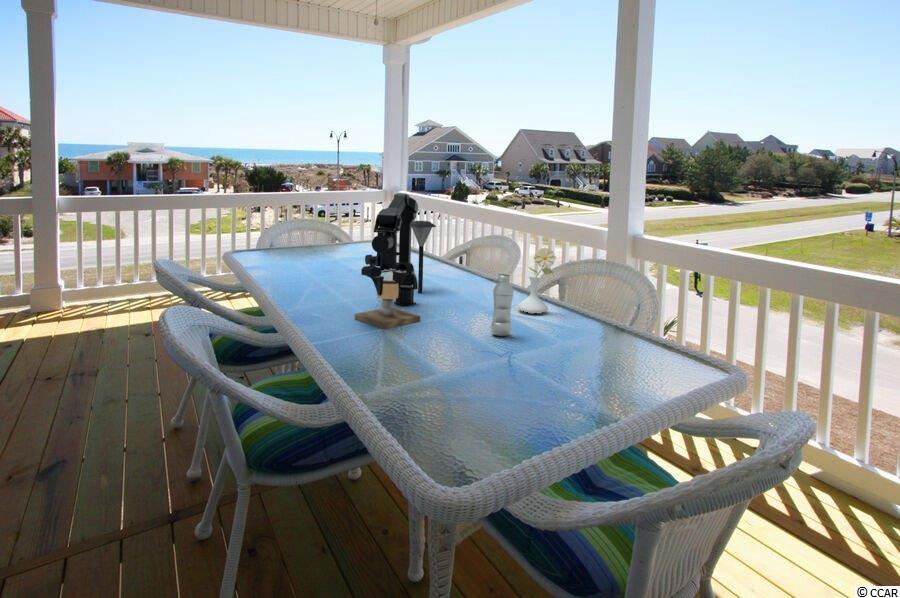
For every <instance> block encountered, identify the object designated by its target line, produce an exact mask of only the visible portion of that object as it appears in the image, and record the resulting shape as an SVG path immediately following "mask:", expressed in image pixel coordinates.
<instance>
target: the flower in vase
mask: <svg viewBox="0 0 900 598" xmlns="http://www.w3.org/2000/svg"><path fill="white" fill-rule="evenodd" d="M532 259H533V260H534V262H535V265H537V266H539V267H541V268H540V270H539V272H538V271H537V270H535V269H533V268H531V267H530V266H528V268H529V270H531V271H532V272H535V273H536V274H531V275H527V276H528V279H529V280H530V287H531V288H530V293H529V296H528V297H526V298H525V299H523V300H522V301H521V302H520V303H519V304H518V305H517V309H518V310H519V311H521V312H523V311H524V312H523V313H526V312H528V313H527V314H534V313H537V314H543V313H542V312H544V313H546V312H548V310H549V307H548V305H547V304H546V303H545V302H544V301H543V300H542V299H540V297H539V296H538V286H539V282H540V280H541V279H542V276H541V275H539V274H540V273H541V272H542V273H543V274H544V275H551V274H553V273H554V272H553V270H552V269H550V267H552V266H554V263H555V261H556V259H557V258H556V255H555V253H554V250H553V249H550V248H549V247H545V246H544V247H540V248H539V249H536V251H535V253H534V256H533V258H532Z"/></svg>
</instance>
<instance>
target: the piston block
mask: <svg viewBox="0 0 900 598" xmlns="http://www.w3.org/2000/svg"><path fill="white" fill-rule="evenodd" d="M381 301H382V303H381V304H382V307H381V308H379V309H373V310H368V311H367V310H366V311H363V312H358V313H354V320H355V321H359V322H362V323H365V324H367V325H371V326H373V327H375V328H379V329H382V330H387V329H392V328H396V327H400V326H406V325H411V324H415V323H419V322H421V315H419V314H415V313H412V312H408V311H405V310H402V309H399V308H396V307H394V299H381Z"/></svg>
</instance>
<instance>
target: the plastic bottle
mask: <svg viewBox="0 0 900 598" xmlns="http://www.w3.org/2000/svg"><path fill="white" fill-rule="evenodd" d="M510 281H511V274H507V273H499V274H498V275H497V284H495V286H494V287H493V290H492V291H493V292H492V295H493V312H492V313H493V315H492V320H491V325H490V332H491V334H492V335H493V336H498V337H506V336H509V335H510V334H511V331H512V321H511V319H512V318H511V317H512V316H511V315H512V314H511V311H512V309H511V308H512V302H513V299H514V298H513V297H514V293H515V291H514V288H513V286H512V284H511V283H510Z"/></svg>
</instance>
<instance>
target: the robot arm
mask: <svg viewBox="0 0 900 598" xmlns="http://www.w3.org/2000/svg"><path fill="white" fill-rule="evenodd" d="M418 212H419V205H418V202H417V200H416V199H414V198H413V197H411V196H410V195H409V194H407V193H398V192H397V193H394V196H393V199H392V200H391V202H390V203H389V205H388V206H387V207H386V208H383V209H381V210H380V211H379V212H378V213H377V214H376V218H375V224H374V228H373V233H377V235H376V236H375V237H373V239H372V240H371V248H372V249H373V251H374V252H375V253H376V255H375V256H373V255H372V254H366V255H365V257H364V263H365V265H364V266H363V267H362V268H361V273H360V274H361V275H362V276H365V277H368V278H370V279H371V281H372V282H373V284H374V287H375V290H376V293H378V295H381V293H382V287H383V281H384V279H385V277H384V276H382V274H383V273H384V274H385V273H389V272H391V273H392V281H397V282H399V295H398V298H395V301H393V304H396V305H398V306H402V307H407V306H412V305H416V304H417V302H416V301H415V299H414V298H415V297H414V296H415V292H414V291H415V290H418V278H417V274H415V271H416V270H415V266H414V264H413V263H411V262H412V261H411V260H412V256H411V255H412V232H413V229H412V223H413V222H414V221H416V219H417V214H418ZM398 233H399V237H398ZM398 238H399V239H398ZM398 242H399V243H398ZM397 248H398V249H397ZM397 256H398V257H397ZM397 259H398V260H397Z"/></svg>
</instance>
